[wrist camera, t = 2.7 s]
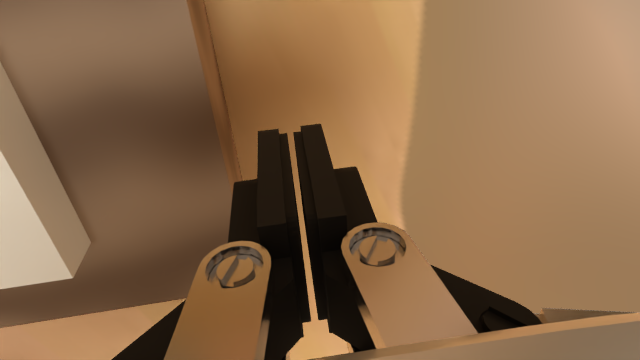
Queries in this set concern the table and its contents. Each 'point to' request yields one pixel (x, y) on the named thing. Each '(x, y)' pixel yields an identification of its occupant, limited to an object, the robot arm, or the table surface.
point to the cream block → (32, 205)
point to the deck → (124, 144)
